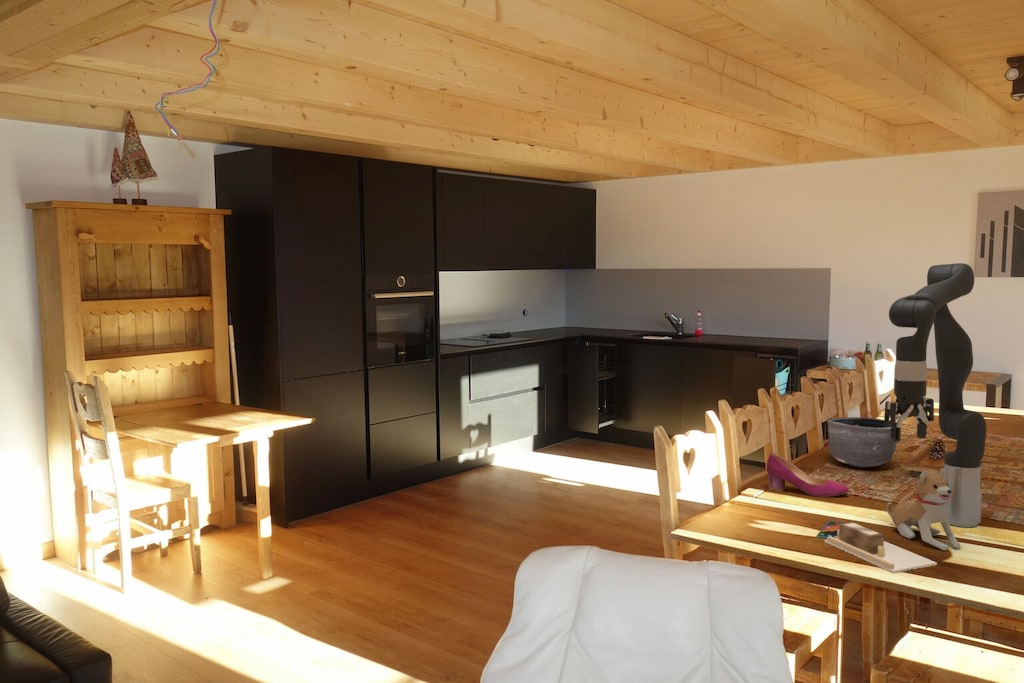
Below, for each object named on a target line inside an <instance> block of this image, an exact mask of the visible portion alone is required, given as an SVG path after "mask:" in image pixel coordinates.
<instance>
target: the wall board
mask: <svg viewBox="0 0 1024 683" xmlns="http://www.w3.org/2000/svg"><path fill="white" fill-rule="evenodd" d="M824 543H826V544H828V545H830V546H833V547H834V546H835V548H837V549H839V550H841V551H843V550H844V552H846V553H848V554H850V555H852V554H853V556H855V557H857V558H859V559H861V560H864V561H866V562H868V563H870V564H872V565H874V566H876V567H879V568H881V569H884V570H886V571H887V572H890V573H892V574H898V573H903V572H906V571H907V570H908V571H912V570H911V569H913V570H918V568H919V569H923V568H929V567H933V566H937V565H938V562H936V561H933V560H931V559H929V558H927V557H924V556H921V555H919V554H917V553H914V552H912V551H909V550H907V549H905V548H902V547H900V546H898V545H895V544H891V543H889V542H888V541H885V540H884V546H878V554H870V553H868V552H866V551H863V550H861V549H859V548H857V547H854V546H852V545H850V544H847V543H845V542H843V541H841V540H839V529H838V530H837V538H834V537H831V536H829V537H827V539H824Z"/></svg>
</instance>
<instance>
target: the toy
mask: <svg viewBox="0 0 1024 683" xmlns="http://www.w3.org/2000/svg"><path fill="white" fill-rule="evenodd" d="M944 476H945V470H944V467H940V468H939V470H938V472H936V471H934V470H933V471H932V470H929V471H927V470H925V469H923V470H922V471H921V473H920V474H919V476H918V478H919V479H918V481H917V484H916V486H917V487H916V489H917V494H916V498H917V500H916V501H913V500H909V499H907V500H904V501H900V502H898V503H897V504H896V506H895V507H894V509H892V506H893V502H888V503H887V505H886V511H887V514H888V515H889V516H890V518H891V521H892V522H893V524H894V525H895V527H896V529H897V531H898V532H899V534H900V535H901V536H902V537H904V538H907V539H909V540H912V539H914V538H916V534H915V531H914V530H913V529H912V527H915V528H917V529H918V530H919V532H920V537H921V540H922V541H923V542H925V543H927V544H929V545H932V546H933V547H936V548H938V549H940V550H942V551H948V550H949V546H948V545H947V544H945V543H943V542H941V541H939V540H937V539H934V538H933V537H935V536H937V535H939V534H941V532H942V531H940V530H939V529H937V528H935V527H933V526H932V524H939V523H940V524H941V526H942V529H943V531H944V533H945V535H946V537H947V539H948V541H949V542H950V544H951V546H952V548H953V549H957V550H958V549H961V545H960V543H959V542H958V540H957V538H956V537H955V534H954V533H953V530H952V527H951V525H950V524H949V523H948V520H947V517H946V502H947V501H948V500H949V499H950V494H951V490H950V489H949V487H948V486H949V485H948V484H947V482H946V480H945V479H944Z"/></svg>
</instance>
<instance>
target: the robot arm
mask: <svg viewBox="0 0 1024 683" xmlns="http://www.w3.org/2000/svg"><path fill="white" fill-rule="evenodd" d="M926 282H927V283H926V284H927V285H925V286H924V287H922V288H919V290H917V291H916V292H915V293H913V294H910V295H906V296H903V297H901V298H898V299H897V300H895V301H894V302H893V303H892V304H891V306H890V308H889V310H888V319H889V320H890V322H891V324H892V325H894V326H895V327H898V328H908V329H909V328H912V329H914V328H915V329H916V331H915V333H914V334H913V335H909V336H908V335H907V336H902V337H899V338H898V339H897V340H896V343H895V344H896V345H895V363H894V372H893V374H894V376H893V394H894V396H895V401H888V400H887V401H885V404H884V405H885V406H884V415H883V416H884V417H883V418H884V419H883V420H884V424H887V425H890V426H891V439H892V441H895V442H897V443H898V442H901V433H902V432H901V431H902V430H901V429H902V427H901V426H902V423H903V422H905V421H906V420H907V418H912V417H914V418H915V420H916V421H917V424H916V429H917V430H916V437H917V438H918V439H926V438H927V434H928V432H927V431H928V429H927V428H928V425H929V423H930V422H934V420H935V409H934V407H935V402H934V399H933V398H929V397H926V396H927V381H928V380H927V379H928V367H927V349H928V348H927V345H928V342H929V341H928V340H929V338H930V333H931V330H932V327H933V330H934V333H933V334H934V344H935V345H934V348H935V357H936V360H935V361H936V365H937V377H938V378H937V379H938V426H939V429H940V432H941V433H942V434H943V436H944V437H947V438H949V439H950V440H951V439H952V440H954V441H956V446H955V450H951V451H947V452H946V453H944V456H943V462H944V463H943V468H944V470H945V476H944V479H945V480H946V482H947V484H948V485H949V486H948V487H949V489H950V490H951V494H950V499H949V500H948V501H947V502H946V517H947V520H948V523H949V525H950V526H956V527H959V528H960V527H963V528H973V527H977V526H978V525H979V524H981V523H982V521H981V519H982V500H983V499H982V498H983V497H982V496H983V492H982V490H980V488H981V487H980V485H981V465H982V464H981V463H982V460H983V459H984V456H985V449H986V439H987V422H986V419H985V417H984V416H983V415H982V413H980V412H977V411H973V410H969V409H965V407H964V400H963V399H964V397H963V393H964V392H963V390H964V386H965V384H966V382H967V379H968V378H969V376H970V374H971V372H972V370H973V366H974V354H973V353H974V352H973V344H972V340H971V338H970V336H969V334H968V333H967V332H966V331H965V329H964V328H963V327H962V326H961V325H960V323H959V322H958V321H957V320H956V319H955V318H954V316H953V314H952V313H951V311H950V308H949V306H948V304H949V303H951V302H953V301H956V300H957V299H959V298H962V297H964V296H967V295H969V294H971V292H972V291H973V289H974V285H975V274H974V270H973V268H972V267H971V265H969V264H968V263H962V262H959V263H956V262H955V263H947V264H935V265H931V266H930V267H929V268H928V271H927V276H926Z"/></svg>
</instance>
